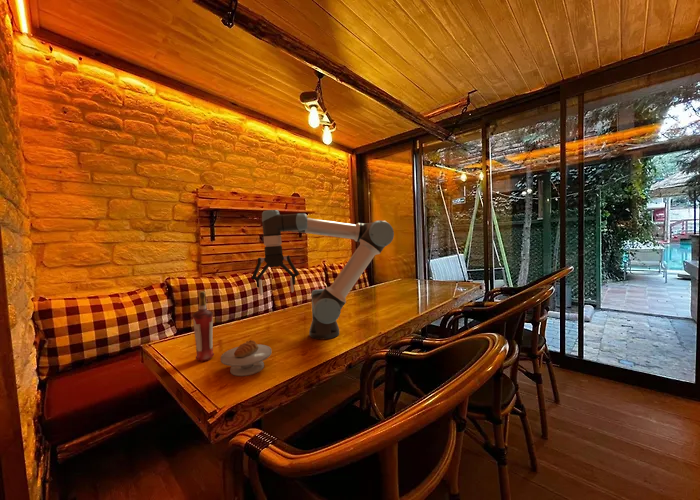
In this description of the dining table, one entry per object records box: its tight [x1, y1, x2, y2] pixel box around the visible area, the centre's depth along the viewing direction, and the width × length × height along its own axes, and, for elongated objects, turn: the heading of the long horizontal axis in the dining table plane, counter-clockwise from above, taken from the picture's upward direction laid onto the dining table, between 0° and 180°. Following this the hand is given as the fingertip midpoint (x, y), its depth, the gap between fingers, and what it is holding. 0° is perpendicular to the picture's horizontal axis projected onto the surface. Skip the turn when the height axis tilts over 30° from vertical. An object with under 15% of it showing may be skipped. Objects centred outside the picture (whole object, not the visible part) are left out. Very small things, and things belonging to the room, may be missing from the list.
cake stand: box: [220, 343, 272, 377], centre depth 109 cm, size 18×18×6 cm
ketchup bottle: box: [192, 291, 215, 362], centre depth 119 cm, size 7×7×28 cm
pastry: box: [234, 339, 259, 358], centre depth 108 cm, size 9×7×4 cm
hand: (277, 293), depth 128 cm, fingers open, 13 cm apart
